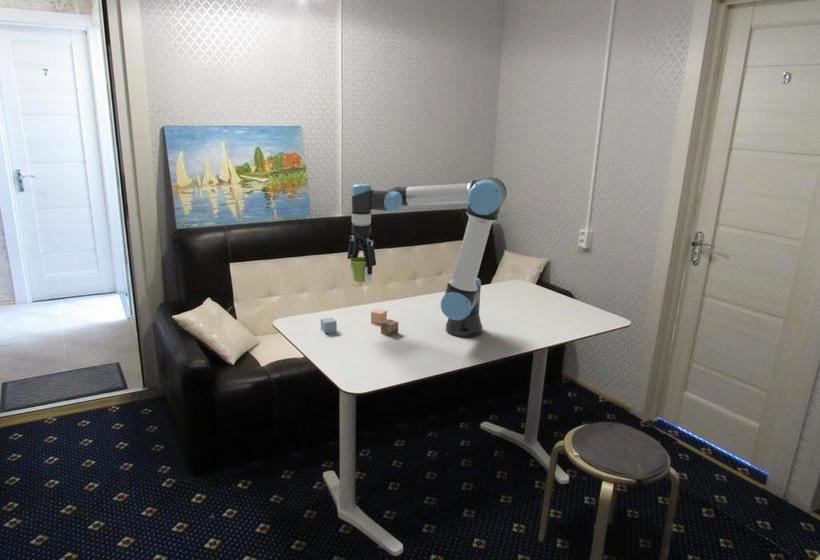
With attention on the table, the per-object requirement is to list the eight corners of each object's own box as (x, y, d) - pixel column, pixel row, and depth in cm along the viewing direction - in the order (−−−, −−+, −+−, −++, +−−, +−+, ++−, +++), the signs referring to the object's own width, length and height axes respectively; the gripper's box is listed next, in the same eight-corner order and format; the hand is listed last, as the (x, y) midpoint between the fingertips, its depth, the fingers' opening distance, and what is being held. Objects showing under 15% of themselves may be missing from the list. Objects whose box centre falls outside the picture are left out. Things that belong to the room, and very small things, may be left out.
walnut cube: (398, 333, 238) (398, 321, 236) (390, 336, 234) (390, 325, 232) (388, 330, 240) (388, 319, 239) (380, 333, 237) (380, 322, 235)
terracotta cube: (386, 321, 251) (386, 310, 250) (381, 325, 246) (381, 313, 245) (376, 319, 253) (376, 308, 251) (371, 323, 248) (371, 312, 247)
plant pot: (372, 284, 231) (372, 262, 228) (348, 283, 231) (348, 262, 228) (373, 277, 240) (374, 257, 237) (351, 277, 240) (350, 256, 237)
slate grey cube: (336, 332, 237) (336, 321, 235) (324, 334, 234) (324, 322, 233) (332, 328, 241) (332, 317, 239) (320, 330, 239) (320, 318, 237)
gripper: (385, 227, 224) (385, 283, 230) (353, 219, 239) (353, 272, 245) (370, 229, 219) (370, 287, 225) (338, 221, 234) (338, 275, 240)
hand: (361, 279), depth 235 cm, fingers closed on plant pot, 8 cm apart
